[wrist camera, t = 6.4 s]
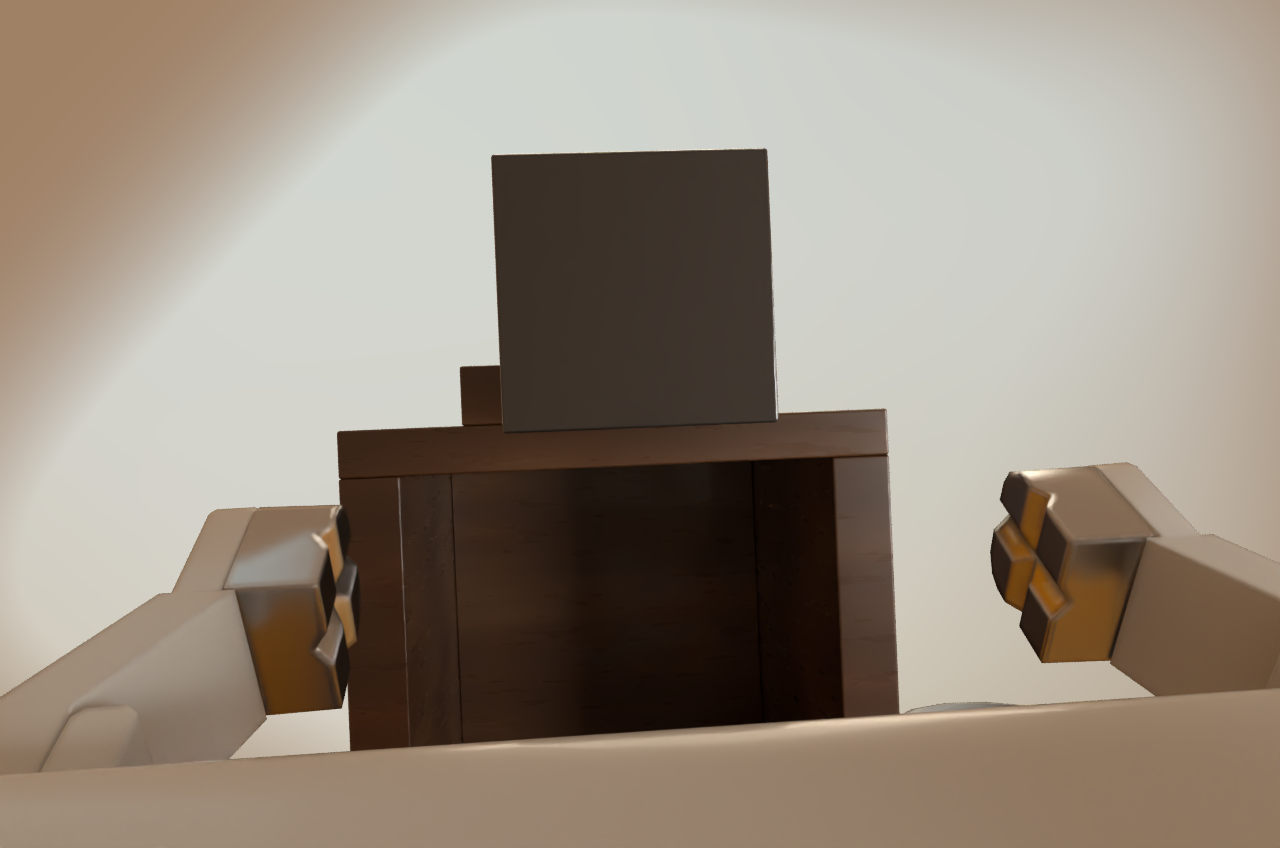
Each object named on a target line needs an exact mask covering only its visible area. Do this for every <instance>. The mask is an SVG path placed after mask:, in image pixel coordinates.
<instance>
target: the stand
mask: <svg viewBox="0 0 1280 848" xmlns="http://www.w3.org/2000/svg"><path fill="white" fill-rule="evenodd" d="M460 385H461V408H462V425H463V426H453V427H431V428H430V427H429V428H406V429H381V430H357V431H339V432H338V433H337V445H338V467H339V468H338V469H339V478H340V479H341V480H339V493H340V505H343V506H344V508H345V509H346V511H347V513H348V518H349V523H350V528H351V533H352V536H351V540H350V544H349V548H348V552H347V556H348V557H349V558H350V559H352V560H353V561H354V562H355V563H356V564H357V567H358V573H359V579H360V590H361V615H360V627H359V632H358V637H357V641H356V642H355V643H354V644H353V645H352V646H350V647H349V648H348V654H349V660H350V665H351V670H350V674H349V678H348V683H347V684H348V708H349V730H350V751H360V750H375V749H390V748H405V747H419V746H434V745H449V744H464V743H478V742H493V741H508V740H523V739H538V738H552V737H567V736H582V735H597V734H611V733H626V732H641V731H656V730H670V729H685V728H700V727H715V726H729V725H744V724H759V723H774V722H788V721H803V720H818V719H833V718H848V717H862V716H877V715H892V714H899V691H898V668H897V644H896V620H895V597H894V574H893V573H894V572H893V548H892V527H891V525H892V524H891V503H890V480H889V479H890V478H889V457H888V455H887V454H888V430H887V429H888V428H887V410H886V409H860V410H836V411H812V412H788V413H778V418H779V419H778V422H771V423H747V424H724V425H700V426H677V427H653V428H629V429H606V430H582V431H559V432H535V433H511V434H505V433H503V425H502V402H501V378H500V365H490V366H489V365H488V366H462V367H460Z"/></svg>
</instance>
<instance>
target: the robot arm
mask: <svg viewBox="0 0 1280 848" xmlns="http://www.w3.org/2000/svg"><path fill="white" fill-rule="evenodd" d="M1000 501H1001V502H1002V503H1003V505H1004V507H1005V508H1006V510H1007V512H1008V513H1009V514H1008V516H1006V517H1005V518H1004V520H1003V521H1002V522H1001V523H1000V524H999V525H998V526H997V527H996V528H995V529H994V532H993V538H992V544H991V551H990V553H991V565H992V574H993V577H994V580H995V583H996V586H997V589H998V591H999V592H1000V594H1001V596H1002V598H1003V599H1004V601H1005V602H1006V603H1008V604H1009V605H1011V606H1013V607H1014V608H1016V609H1018V610H1020V611H1021V612H1022V616H1021V621H1020V625H1019V626H1020V628H1021V630H1022V631H1023V633H1024V635H1025V636H1026V638H1027V640H1028V641H1029V643H1030V644H1031V646H1032V648H1033V649H1034V651H1035V653H1036V654H1037V656H1038V658H1039V659H1040V661H1041V663H1058V662H1083V661H1109V660H1110V661H1111V662H1110V664H1111V665H1113V666H1114V667H1116V668H1117V669H1118V670H1120V671H1121V672H1123V673H1124V674H1125V675H1127V676H1128V677H1130V678H1131V679H1132V680H1134V681H1135V682H1137V683H1138V684H1140V685H1141V686H1142V687H1144V688H1145V689H1147V690H1148V691H1149V692H1151V693H1152V694H1153V695H1155V696H1156V697H1142V698H1128V699H1112V700H1098V701H1083V702H1068V703H1054V704H1039V705H1024V706H1009V707H994V708H980V709H965V710H950V711H936V712H921V713H906V714H892V715H877V716H862V717H848V718H833V719H818V720H803V721H788V722H774V723H759V724H744V725H729V726H715V727H700V728H685V729H670V730H656V731H641V732H626V733H611V734H597V735H582V736H567V737H552V738H538V739H523V740H508V741H493V742H478V743H464V744H449V745H434V746H419V747H405V748H390V749H375V750H360V751H346V752H331V753H316V754H301V755H287V756H272V757H257V758H242V759H229V758H230V757H231V756H232V755H233V754H234V753H235V752H236V751H237V750H238V749H239V748H240V747H241V746H242V745H243V744H244V743H245V742H246V741H247V739H248V738H249V737H250V736H251V735H252V734H253V733H254V732H255V731H256V730H257V729H258V728H259V727H260V726H261V725H262V724H263V723H264V722H265V721H266V719H267V718H266V715H276V714H286V713H297V712H309V711H320V710H330V709H341V708H342V705H343V700H344V696H345V691H346V687H347V683H348V678H349V674H350V670H351V665H350V660H349V654H348V648H349V647H350V646H352V645H353V644H354V643H355V642H356V641H357V637H358V632H359V627H360V615H361V590H360V579H359V573H358V567H357V564H356V563H355V562H354V561H353V560H352V559H350V558H349V557H348V556H347V552H348V548H349V544H350V540H351V536H352V533H351V528H350V523H349V518H348V513H347V511H346V509H345V508H344V506H343V505H319V506H287V507H260V508H255V507H252V508H234V509H217V510H215V511H213V512H211V513H210V514H209V515H208V517H207V519H206V521H205V523H204V526H203V528H202V530H201V532H200V534H199V536H198V538H197V540H196V543H195V545H194V547H193V549H192V551H191V553H190V555H189V557H188V559H187V561H186V564H185V566H184V568H183V570H182V572H181V574H180V576H179V578H178V580H177V583H176V585H175V587H174V589H173V591H172V593H162V594H158V595H156V596H155V597H153V598H152V599H150V600H148V601H147V602H146V603H144V604H142V605H141V606H139V607H138V608H136V609H135V610H133V611H132V612H130V613H129V614H127V615H125V616H124V617H123V618H121V619H119V620H118V621H117V622H115V623H113V624H112V625H110V626H109V627H107V628H106V629H104V630H103V631H101V632H100V633H98V634H96V635H95V636H93V637H92V638H91V639H89V640H87V641H86V642H84V643H83V644H81V645H79V646H78V647H77V648H75V649H73V650H72V651H71V652H69V653H67V654H66V655H64V656H63V657H61V658H59V659H58V660H56V661H55V662H53V663H52V664H50V665H49V666H47V667H46V668H44V669H43V670H41V671H40V672H38V673H36V674H35V675H33V676H32V677H30V678H29V679H27V680H26V681H24V682H23V683H21V684H20V685H18V686H17V687H15V688H14V689H12V690H11V691H9V692H7V693H6V694H4V695H3V696H1V697H0V848H1280V563H1278V562H1276V561H1274V560H1271V559H1269V558H1267V557H1265V556H1262V555H1260V554H1257V553H1255V552H1253V551H1250V550H1248V549H1246V548H1243V547H1241V546H1239V545H1237V544H1234V543H1232V542H1230V541H1228V540H1225V539H1223V538H1220V537H1218V536H1216V535H1214V534H1208V535H1201V534H1200V533H1199V532H1197V530H1196V529H1195V528H1194V527H1193V526H1192V525H1191V524H1190V523H1189V522H1188V521H1187V519H1186V518H1185V517H1184V516H1183V515H1182V514H1181V513H1180V512H1179V511H1178V510H1177V509H1176V508H1175V507H1174V506H1173V505H1172V503H1171V502H1170V501H1169V500H1168V499H1167V498H1166V497H1165V496H1164V495H1163V494H1162V493H1161V492H1160V491H1159V489H1158V488H1157V487H1156V486H1155V485H1154V484H1153V483H1152V482H1151V481H1150V480H1149V479H1148V478H1147V477H1146V476H1145V474H1144V473H1143V472H1142V471H1141V470H1140V469H1139V468H1138V467H1137V466H1135V465H1132V464H1130V463H1127V462H1126V463H1113V464H1102V465H1090V466H1085V467H1072V468H1057V469H1044V470H1028V471H1014V472H1009V474H1008V476H1007V478H1006V480H1005V481H1004V484H1003V488H1002V493H1001V497H1000Z"/></svg>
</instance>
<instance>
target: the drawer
mask: <svg viewBox="0 0 1280 848" xmlns="http://www.w3.org/2000/svg"><path fill="white" fill-rule="evenodd" d="M491 162H492V186H493V187H492V188H493V212H494V236H495V258H496V282H497V307H498V329H499V352H500V378H501V402H502V425H503V433H505V434H511V433H535V432H559V431H582V430H606V429H629V428H653V427H677V426H700V425H724V424H747V423H771V422H778V419H779V418H778V395H777V372H776V349H775V325H774V324H775V323H774V301H773V300H774V299H773V277H772V252H771V229H770V204H769V181H768V157H767V150H766V149H764V148H757V149H756V148H754V149H712V150H669V151H626V152H585V153H584V152H583V153H544V154H542V153H541V154H500V155H492V157H491Z"/></svg>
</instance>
